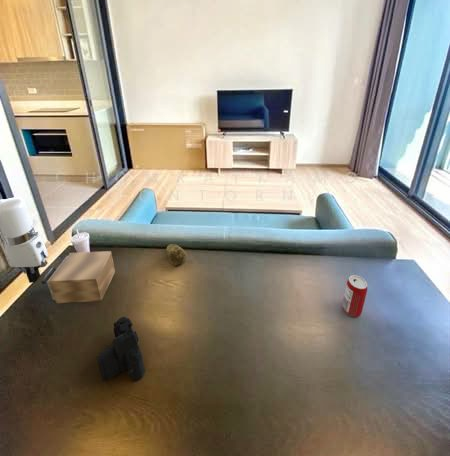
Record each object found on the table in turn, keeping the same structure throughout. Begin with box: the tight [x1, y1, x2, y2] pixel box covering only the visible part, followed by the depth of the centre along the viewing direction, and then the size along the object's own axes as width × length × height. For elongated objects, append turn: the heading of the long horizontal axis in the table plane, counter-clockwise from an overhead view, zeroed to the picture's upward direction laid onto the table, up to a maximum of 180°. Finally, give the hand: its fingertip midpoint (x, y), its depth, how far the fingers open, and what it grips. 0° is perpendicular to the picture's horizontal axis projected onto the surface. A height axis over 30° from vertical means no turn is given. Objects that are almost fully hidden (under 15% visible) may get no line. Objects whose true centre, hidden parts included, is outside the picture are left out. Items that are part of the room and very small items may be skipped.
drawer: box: [40, 255, 68, 301], centre depth 86 cm, size 18×11×8 cm, turn 93°
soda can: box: [341, 274, 368, 318], centre depth 77 cm, size 6×6×12 cm
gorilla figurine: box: [96, 316, 146, 383], centre depth 64 cm, size 15×10×9 cm, turn 36°
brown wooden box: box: [48, 250, 116, 304], centre depth 86 cm, size 15×13×10 cm
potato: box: [165, 243, 188, 268], centre depth 97 cm, size 8×13×8 cm, turn 9°
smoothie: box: [70, 228, 91, 253], centre depth 99 cm, size 6×6×14 cm
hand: (35, 279), depth 86 cm, fingers closed
